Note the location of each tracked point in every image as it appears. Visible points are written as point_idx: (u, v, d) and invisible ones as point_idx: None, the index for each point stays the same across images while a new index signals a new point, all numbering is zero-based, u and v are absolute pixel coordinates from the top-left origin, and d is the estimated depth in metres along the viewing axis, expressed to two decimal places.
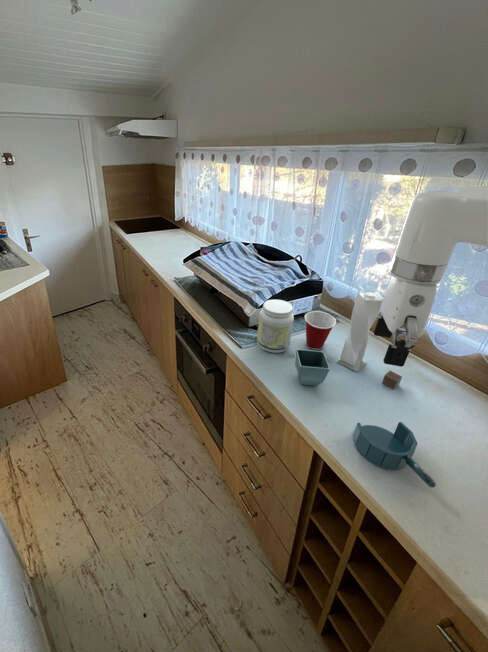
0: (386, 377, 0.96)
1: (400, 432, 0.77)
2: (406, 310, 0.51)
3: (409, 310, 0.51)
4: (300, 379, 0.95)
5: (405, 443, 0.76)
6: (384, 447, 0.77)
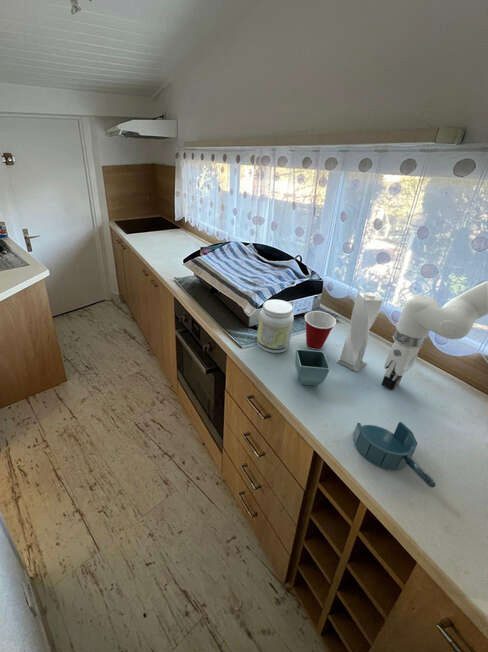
0: None
1: (400, 432, 0.77)
2: (391, 357, 0.89)
3: (392, 357, 0.89)
4: (300, 379, 0.95)
5: (405, 443, 0.76)
6: (384, 447, 0.77)
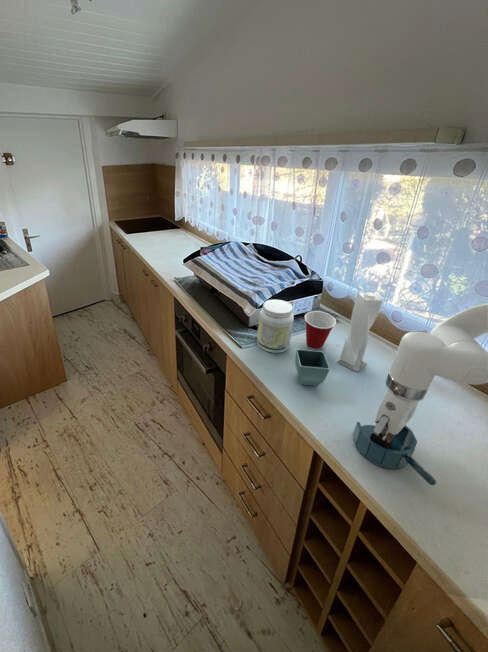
0: None
1: (400, 431, 0.77)
2: (383, 410, 0.69)
3: (385, 411, 0.68)
4: (300, 379, 0.95)
5: (405, 442, 0.76)
6: None
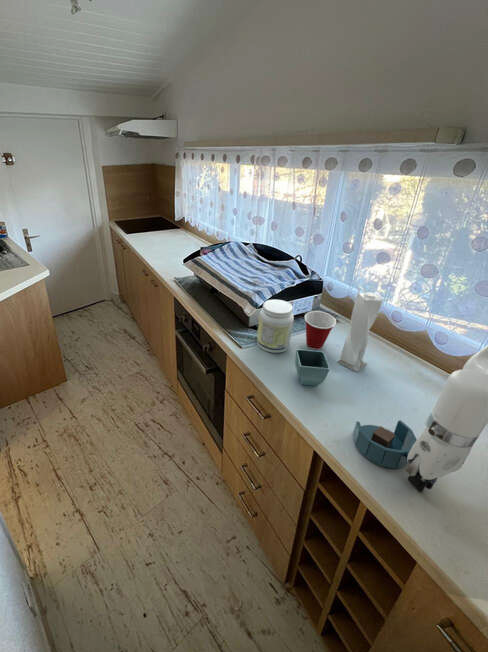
0: (375, 435, 0.76)
1: (400, 430, 0.77)
2: (416, 449, 0.62)
3: (418, 450, 0.62)
4: (300, 379, 0.95)
5: (405, 441, 0.76)
6: None
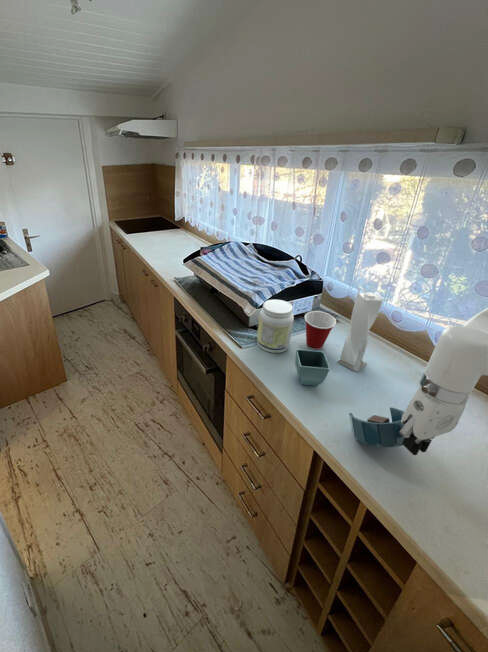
0: None
1: (395, 417, 0.78)
2: (410, 409, 0.62)
3: (412, 410, 0.62)
4: (300, 379, 0.95)
5: None
6: None
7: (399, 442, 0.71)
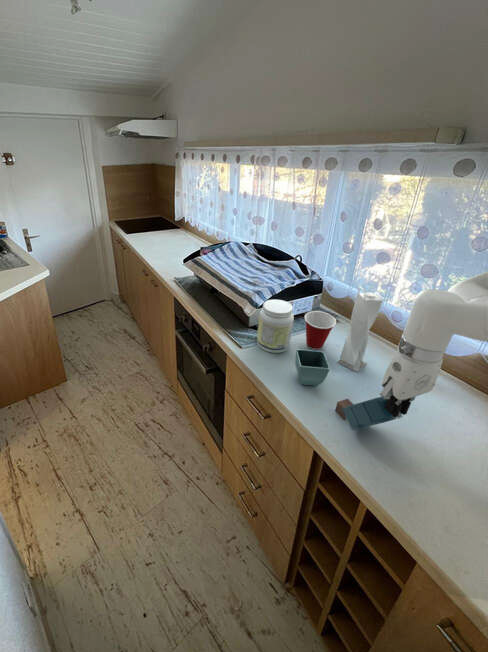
0: (342, 416, 0.86)
1: None
2: (389, 371, 0.66)
3: (391, 372, 0.65)
4: (300, 379, 0.95)
5: None
6: None
7: (389, 416, 0.72)
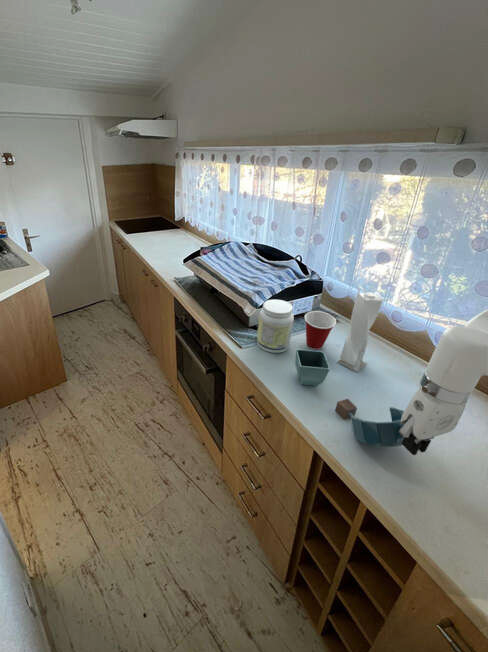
0: (342, 416, 0.86)
1: (395, 417, 0.78)
2: (410, 409, 0.62)
3: (412, 410, 0.62)
4: (300, 379, 0.95)
5: None
6: None
7: (399, 441, 0.71)
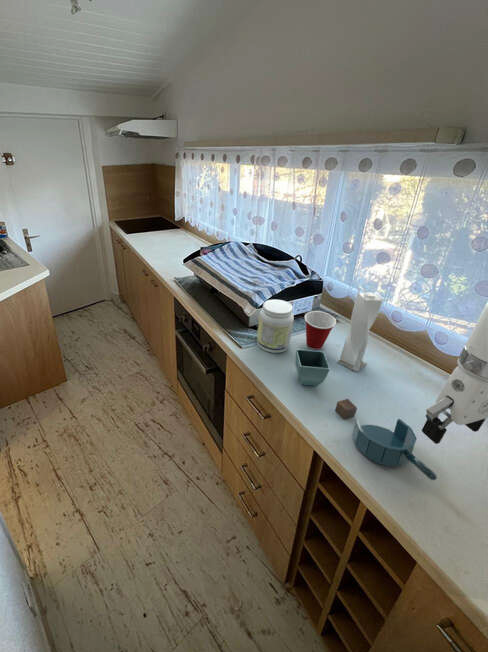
0: (342, 416, 0.86)
1: (400, 429, 0.77)
2: (447, 390, 0.54)
3: (449, 391, 0.54)
4: (300, 379, 0.95)
5: (405, 440, 0.76)
6: (384, 445, 0.76)
7: (400, 463, 0.71)
